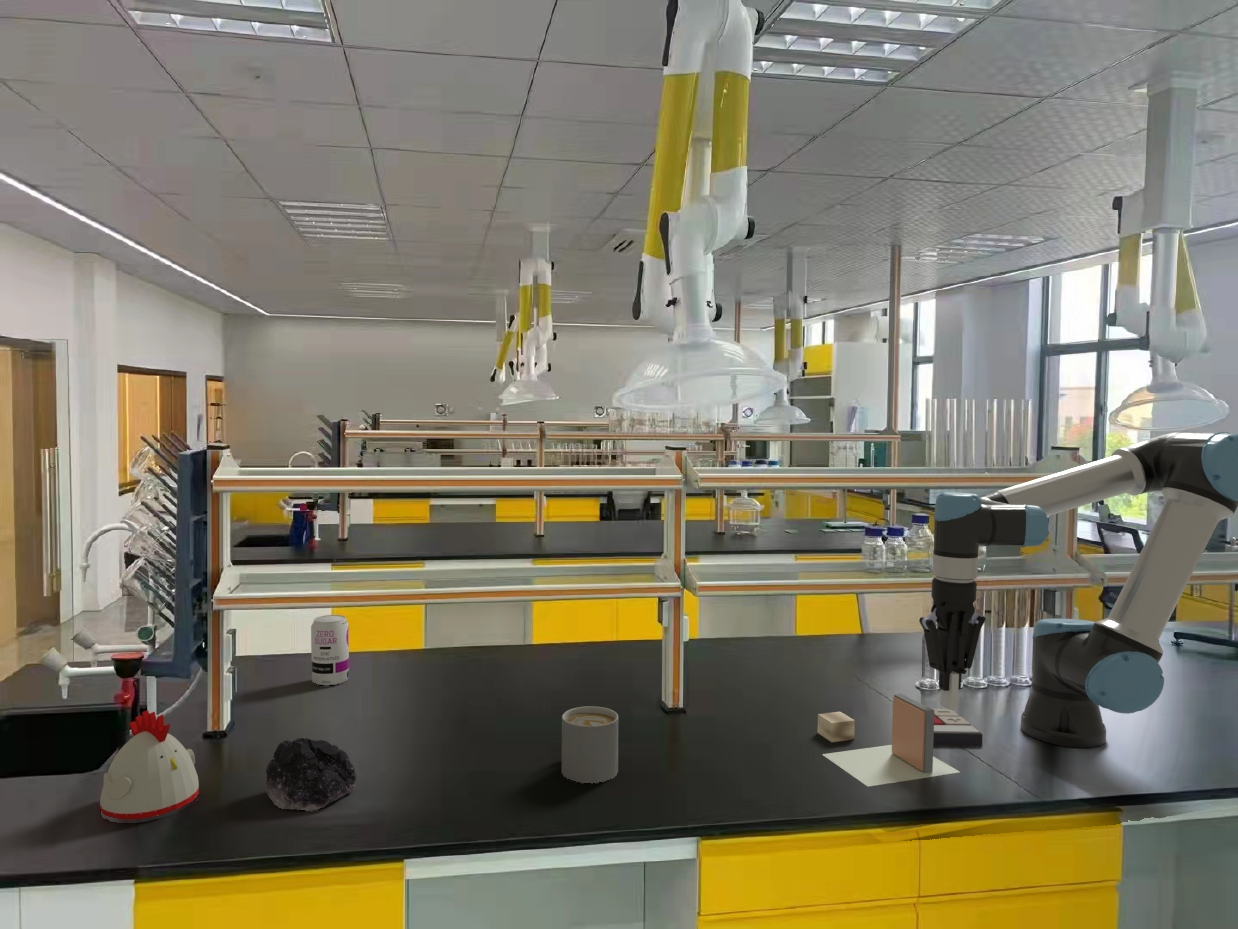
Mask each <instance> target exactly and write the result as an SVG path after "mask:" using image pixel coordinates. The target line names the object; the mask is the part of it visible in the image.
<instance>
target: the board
mask: <svg viewBox="0 0 1238 929" xmlns="http://www.w3.org/2000/svg"><path fill="white" fill-rule="evenodd" d="M821 755H822V756H823V757H825V758H826V759H828V760H829V762H831V763H833V764H835V766H837V767H839V768H841V769H842V770H843V771H844V772H846V773H847V774H848V775H851V776H852V777H853V778H855V779H856V780H857V781H858V782H861V784H864V785H865V786H866V787H874V786H881V785H887V784H894V783H902V782H907V781H913V780H919V779H926V778H932V777H940V776H946V775H951V774H960V773H961V771H959V770H957V769H956V768H954V767H952V766H951V765H949V764H947V762H944V761H942V760H940V759H938V758H937V757H936V756H933V772H929V773H924V772H922V771H920V770H919V769H917V768H916V767H914V766H912V765H911V764H909V763H907V762H906V761H904V760H902V759H901V758H899V757H898V756H896V755H894V754H893V753H892V744H888V745H879V746H874V747H873V746H872V747H865V748H858V749H850V750H844V751H837V752H835V751H834V752H830V753H829V752H828V753H823V754H821Z"/></svg>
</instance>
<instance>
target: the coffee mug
mask: <svg viewBox="0 0 1238 929" xmlns="http://www.w3.org/2000/svg"><path fill="white" fill-rule="evenodd" d="M617 773H619V713H617V711H615V710H612V709H611V708H608V707H603V706H602V707H601V706H588V705H586V706H579V707H574V708H570V709H568V710H566V711H565V712H563V714H562V716H561V775H562V774H563V775H562V776H563V777H564V778H565V777H566V778H567V780H568V779H570V780H573V781H576V782H575V783H577V782H580V783H579V784H584V783H591V785H592V784H593V783H595V784H600V783H599V782H602V783H605V781H606V782H608V781H607V780H609V781H610V779H611V780H613V779H614V778H616V777H617V775H618V774H617ZM566 778H565V779H566ZM570 780H569V781H570ZM573 781H572V782H573Z"/></svg>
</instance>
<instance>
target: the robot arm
mask: <svg viewBox="0 0 1238 929" xmlns="http://www.w3.org/2000/svg"><path fill="white" fill-rule="evenodd" d="M1150 492H1151V493H1152V492H1161V494H1162V495H1163V497H1164V499H1165V503H1164V506H1163V507H1162V509H1161V511H1160V513H1159V515H1158V517H1157V519H1156V521H1155V523H1154V525H1153V527H1152V530H1151V532H1150V533H1149V535H1148V536H1147V539H1146V541H1145V543H1144V545H1143V547H1142V549H1141V551H1140V552H1139V553H1140V554H1139V555H1138V557H1137V558H1136V561H1135V563H1134V565H1133V568H1132V569H1131V571H1130V573H1129V575H1128V577H1127V579H1126V581H1125V583H1124V585H1123V587H1122V588H1121V591H1120V593H1119V595H1118V597H1117V599H1116V601H1115V603H1114V605H1113V606H1112V608H1111V611H1110V613H1109V614H1108V617H1106V618H1104V619H1100V620H1097V621H1092V620H1086V619H1078V618H1077V619H1076V618H1044V619H1043V618H1042V619H1040V620H1037V621H1036V622H1035V625H1034V627H1033V628H1034V629H1033V635H1032V640H1033V644H1032V667H1031V668H1032V669H1031V671H1032V674H1031V692H1030V694H1029V696H1028V699H1027V702H1026V704H1025V707H1024V710H1023V711H1022V714H1021V715H1020V729H1021V731H1022V732H1024V733H1025V734H1026V735H1027V736H1030V737H1031V738H1034V739H1036V740H1039V741H1042V742H1044V743H1049V744H1052V745H1057V746H1062V747H1070V748H1077V749H1079V748H1080V749H1081V748H1082V749H1083V748H1084V749H1089V748H1096V747H1101V746H1103V745H1105V744H1106V742H1107V728H1106V725H1105V724H1104V720H1103V717H1102V713H1101V712H1102V711H1101V710H1100V707H1101V708H1103V709H1105V710H1106V709H1108V710H1109V711H1112V712H1115V713H1117V714H1118V713H1119V714H1124V715H1125V714H1134V713H1137V712H1140V711H1141V712H1142V711H1144V710H1146V709H1147V708H1149V707H1150V706H1152V705H1153V704H1154V703H1156V701H1157V700H1158V699H1159V697H1160V696H1161V694H1162V692H1163V689H1164V686H1165V676H1163V673H1164V671H1163V669H1162V667H1161V665H1160V664H1159V663H1160V661H1161V659H1162V657H1163V655H1164V650H1163V648H1162V646H1161V644H1160V639H1161V636H1162V635H1163V632H1164V631H1165V628H1166V626H1167V624H1168V623H1169V621H1170V619H1171V616H1172V614H1173V613H1174V611H1175V609H1176V607H1177V605H1178V603H1179V601H1180V598H1181V597H1182V595H1183V593H1184V591H1185V590H1186V587H1187V585H1188V583H1189V581H1190V579H1191V577H1192V575H1193V574H1194V571H1195V569H1196V566H1197V565H1198V562H1199V561H1200V558H1201V557H1202V555H1203V553H1204V551H1205V550H1206V547H1207V545H1208V543H1209V542H1210V540H1211V537H1212V535H1213V534H1214V531H1215V530H1216V527H1217V525H1218V524H1219V522H1220V521H1223V520H1225V519H1229V518H1233V516H1234V515H1235V512H1236V511H1237V508H1238V434H1237V433H1231V432H1228V431H1227V432H1226V431H1219V432H1193V431H1192V432H1189V431H1177V432H1175V431H1174V432H1170V433H1166V434H1161V435H1157V436H1155V437H1152V438H1148V439H1145V440H1142V441H1139V442H1136V443H1133V444H1130V445H1127V446H1124V447H1120V448H1118V449H1116V450H1114V451H1113V452H1112V453H1111V454H1110V456H1109V457H1106V458H1101V459H1099V460H1095V461H1092V462H1089V463H1086V464H1081V465H1079V466H1076V467H1072V468H1069V469H1065V470H1063V471H1059V472H1055V473H1052V474H1049V475H1048V474H1047V475H1045V476H1043V477H1038V478H1036V479H1032V480H1029V481H1026V482H1023V483H1019V484H1015V485H1012V486H1009V487H1007V488H1002V489H999V490H996V491H993V492H989V493H985V494H982V495H978V494H977V493H971V492H970V493H969V492H957V491H955V492H953V491H951V492H949V491H947V492H941V493H940V494H938V495H937V496H936V499H935V506H934V515H933V525H934V526H933V528H934V529H933V553H932V554H933V555H932V572H931V573H932V575H933V576H934V577H933V579H931V598H932V600H933V602H932V607H931V609H930V614H928V615H926V617H924V616H921V617H919V621H918V622H919V624H920V626H921V628H922V629H923V634H924V640H925V644H926V651H927V657H928V658H927V659H928V664H929V667H930V668H931V669H935V670H937V671H938V688H939V689H940V706H942V707H943V708H944V709H950V710H953V711H955V710H958V709H959V708H958V707H959V706H958V704H959V690H960V689H961V687H962V675H965V674H967V672H968V671H967V670H968V669H971V668H972V667H973V663H974V662H973V661H974V659H975V654H976V652H977V651H976V650H977V646H978V642H979V638H980V633H981V629H982V627H983V625H984V624H985V622H986V619H987V618H986V616H983V615H981V614H979V613H977V612H976V608H975V606H974V603H975V602H976V601H977V592H978V591H977V589H978V584H977V582H976V581H975V580H976V579H977V578H978V571H979V570H978V564H979V550H980V548H979V547H1011V548H1012V547H1013V548H1017V547H1018V548H1023V549H1025V548H1027V547H1039V546H1041V545H1042V544H1044V543H1045V542H1046V540H1047V538H1048V535H1049V527H1050V524H1049V518H1048V517H1049V516H1053V515H1056V514H1060V513H1063V512H1066V511H1070V510H1073V509H1076V508H1080V507H1084V506H1086V505H1089V504H1093V503H1096V502H1100V501H1103V500H1107V499H1110V498H1113V497H1117V496H1121V495H1123V494H1127V495H1130V496H1138V495H1142V494H1145V493H1150ZM966 669H967V670H966Z"/></svg>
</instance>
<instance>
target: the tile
mask: <svg viewBox="0 0 1238 929" xmlns="http://www.w3.org/2000/svg"><path fill="white" fill-rule="evenodd" d="M933 709H934V708H930V707H928V706H927V705H925V704H923V703H921V702H919V701H918V700H915V699H913V698H911V697H909V696H907V695H905V694H902V693H896V694H893V697H892V722H891V723H892V727H891V745H892V753H893V754H894V755H896V756H898V757H899V758H901V759H902V760H904V761H906V762H907V763H909V764H911V765H912V766H914V767H916V768H917V769H919V770H920V771H922V772H924V773H929V772H933V757H934V745H933V740H934V710H933Z"/></svg>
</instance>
